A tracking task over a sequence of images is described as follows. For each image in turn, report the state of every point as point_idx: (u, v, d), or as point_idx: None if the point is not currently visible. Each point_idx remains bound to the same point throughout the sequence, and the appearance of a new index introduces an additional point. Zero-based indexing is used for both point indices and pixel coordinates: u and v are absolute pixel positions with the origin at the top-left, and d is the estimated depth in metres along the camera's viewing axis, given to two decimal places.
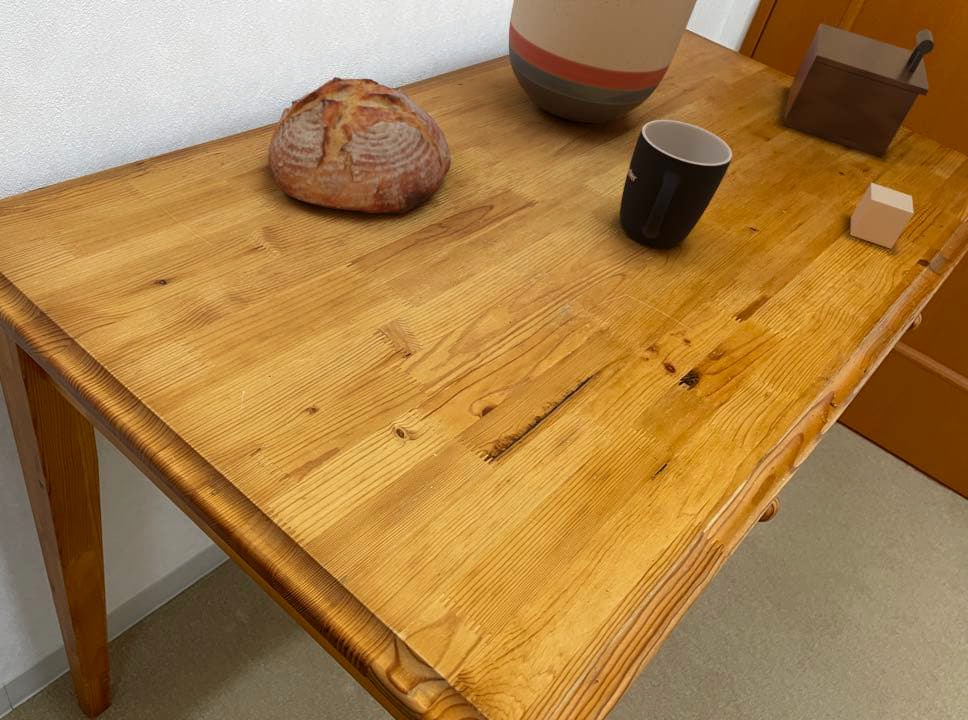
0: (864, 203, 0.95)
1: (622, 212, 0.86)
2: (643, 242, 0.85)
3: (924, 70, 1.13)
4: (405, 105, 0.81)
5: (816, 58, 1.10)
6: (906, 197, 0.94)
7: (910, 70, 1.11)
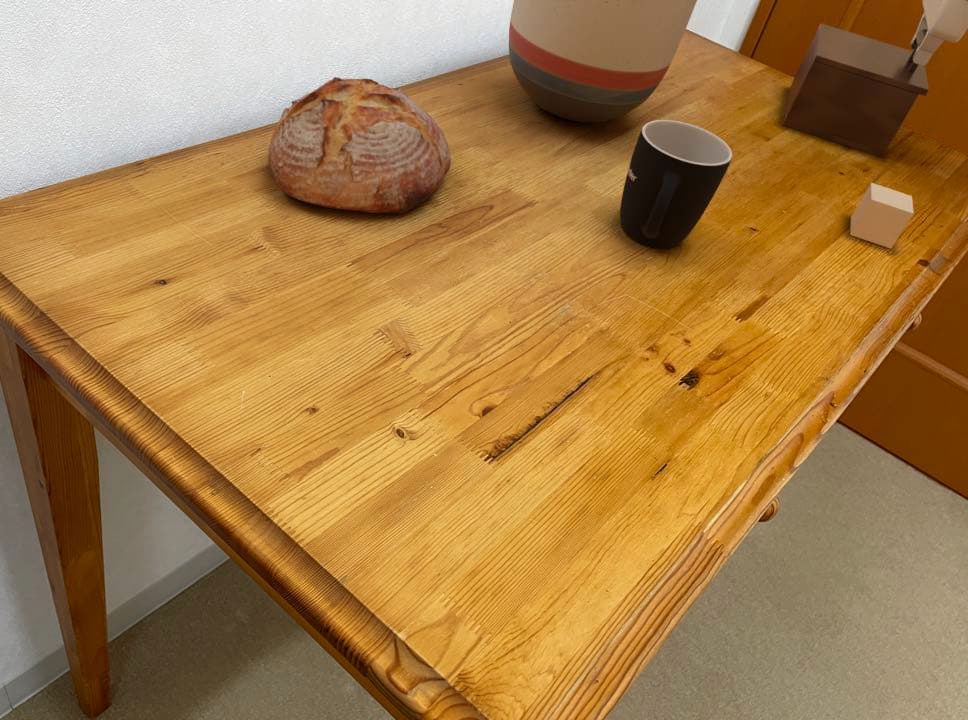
0: (864, 203, 0.95)
1: (622, 212, 0.86)
2: (643, 242, 0.85)
3: (924, 70, 1.13)
4: (405, 105, 0.81)
5: (816, 58, 1.10)
6: (906, 197, 0.94)
7: (910, 70, 1.11)
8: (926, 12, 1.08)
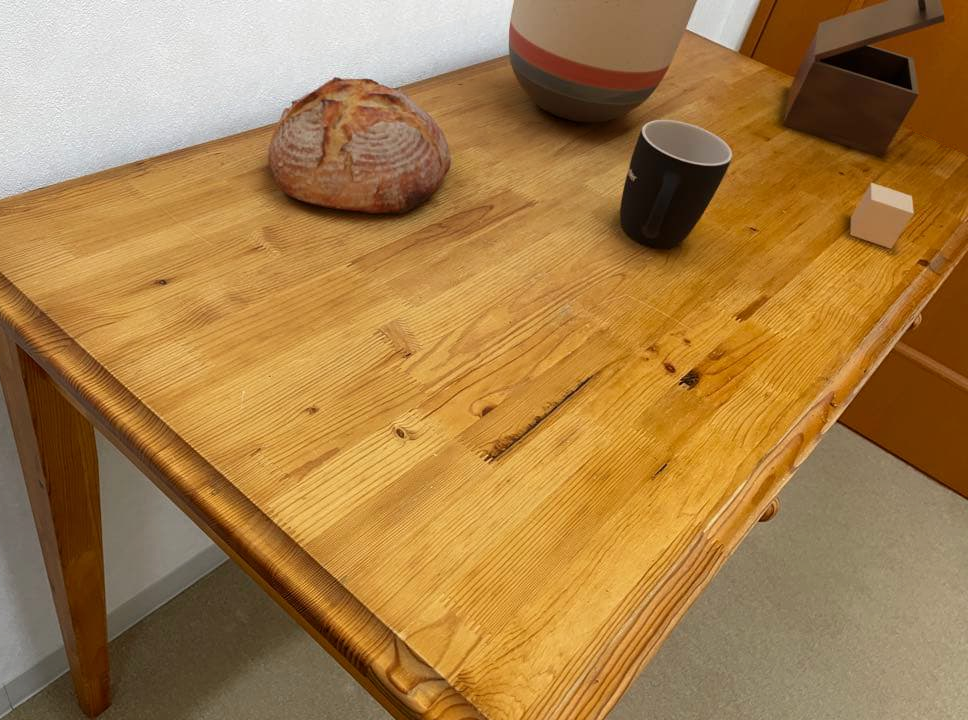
0: (864, 203, 0.95)
1: (622, 212, 0.86)
2: (643, 242, 0.85)
3: None
4: (405, 105, 0.81)
5: (816, 57, 1.10)
6: (906, 197, 0.94)
7: (920, 8, 1.07)
8: None
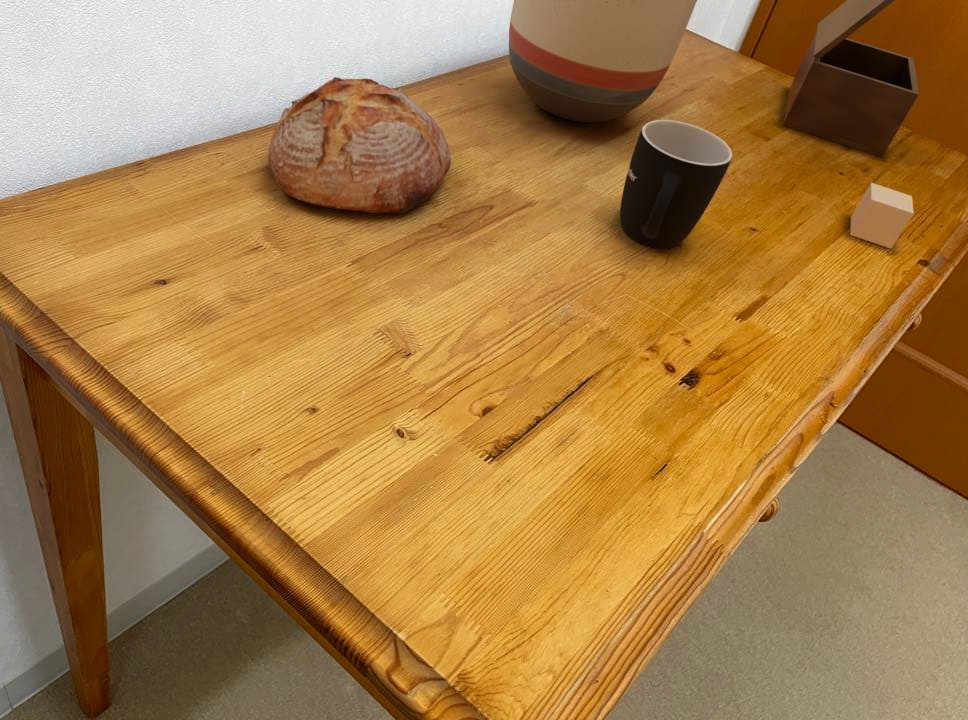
0: (864, 203, 0.95)
1: (622, 212, 0.86)
2: (643, 242, 0.85)
3: None
4: (405, 105, 0.81)
5: (816, 57, 1.10)
6: (906, 197, 0.94)
7: None
8: None
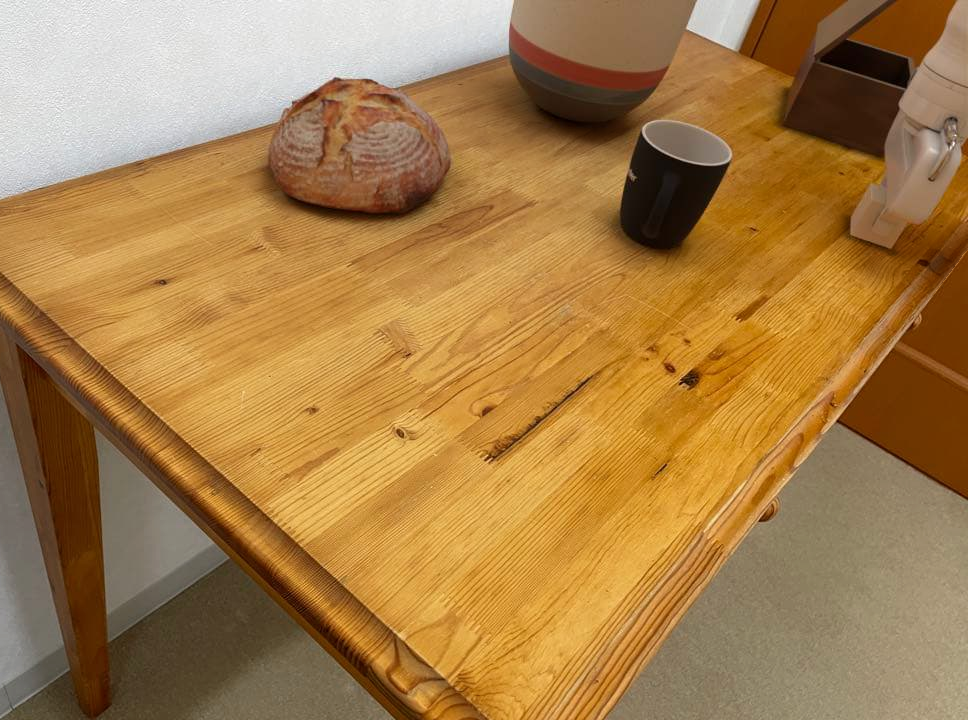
0: (864, 203, 0.95)
1: (622, 212, 0.86)
2: (643, 242, 0.85)
3: None
4: (405, 105, 0.81)
5: (816, 57, 1.10)
6: None
7: None
8: (887, 177, 0.92)
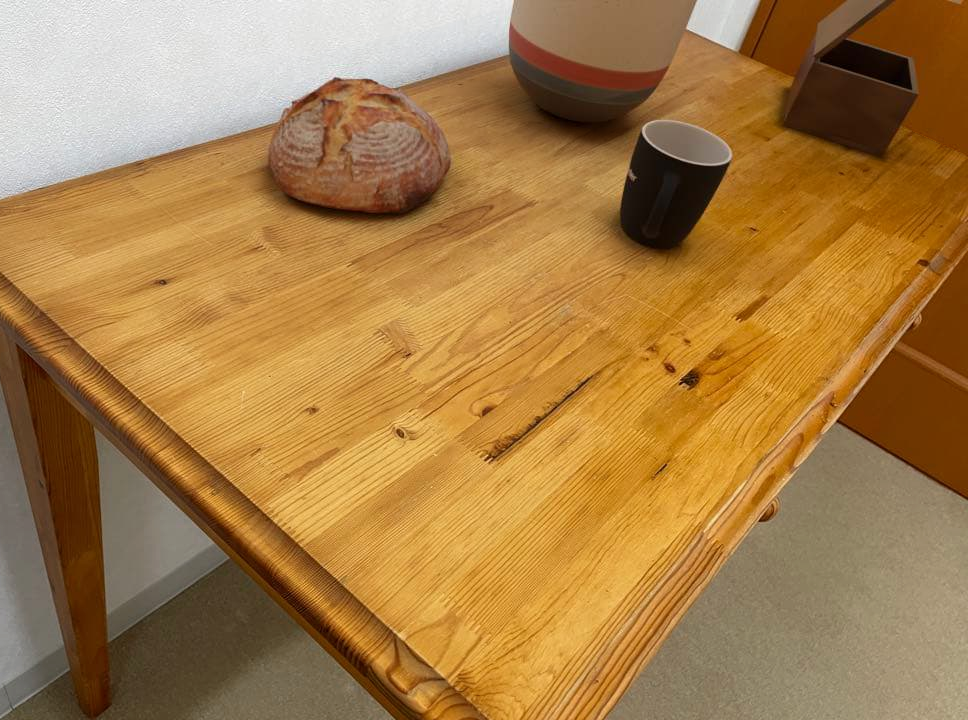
0: None
1: (622, 212, 0.86)
2: (643, 242, 0.85)
3: None
4: (405, 105, 0.81)
5: (816, 57, 1.10)
6: None
7: None
8: None
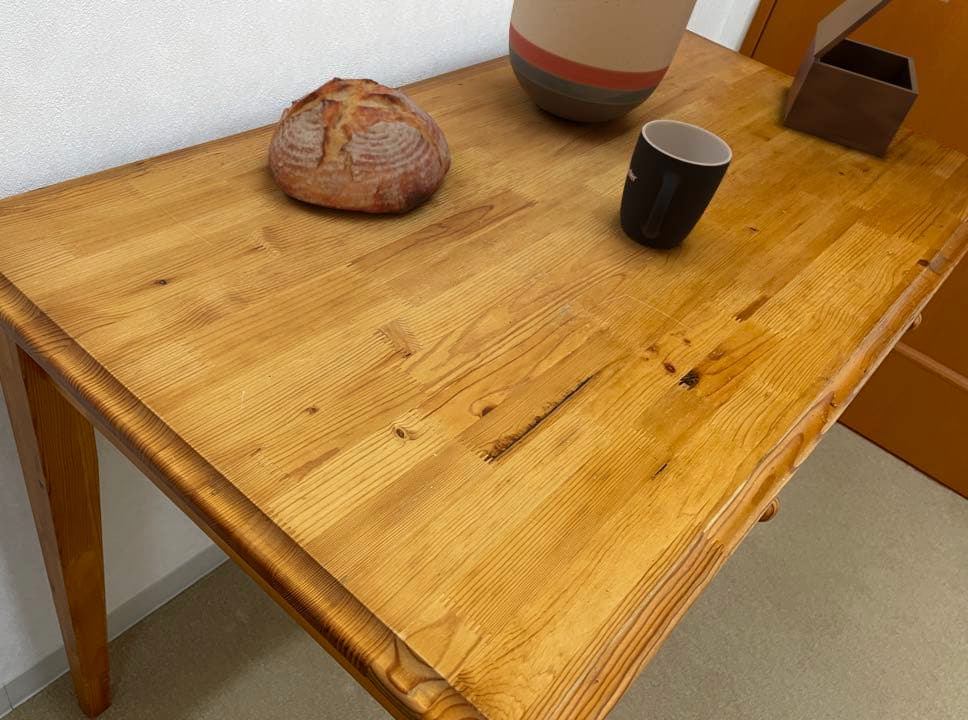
0: None
1: (622, 212, 0.86)
2: (643, 242, 0.85)
3: None
4: (405, 105, 0.81)
5: (816, 57, 1.10)
6: None
7: None
8: None
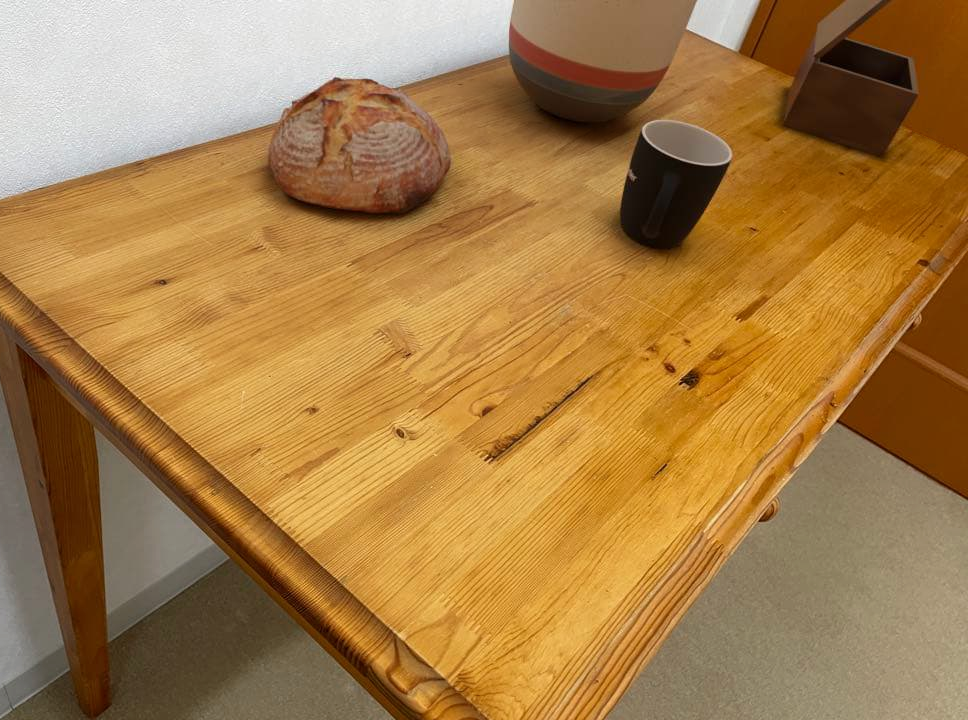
0: None
1: (622, 212, 0.86)
2: (643, 242, 0.85)
3: None
4: (405, 105, 0.81)
5: (816, 57, 1.10)
6: None
7: None
8: None
